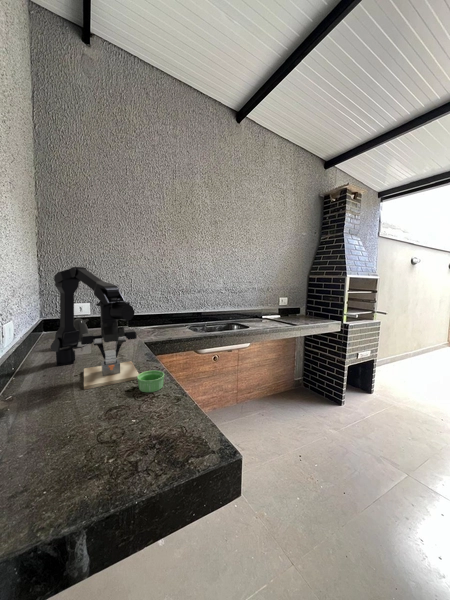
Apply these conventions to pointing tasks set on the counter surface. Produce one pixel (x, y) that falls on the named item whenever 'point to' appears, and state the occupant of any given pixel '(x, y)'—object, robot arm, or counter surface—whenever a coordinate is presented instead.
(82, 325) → the pump dispenser
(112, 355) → the steel post
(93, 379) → the base
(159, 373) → the ramekin
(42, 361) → the counter surface
